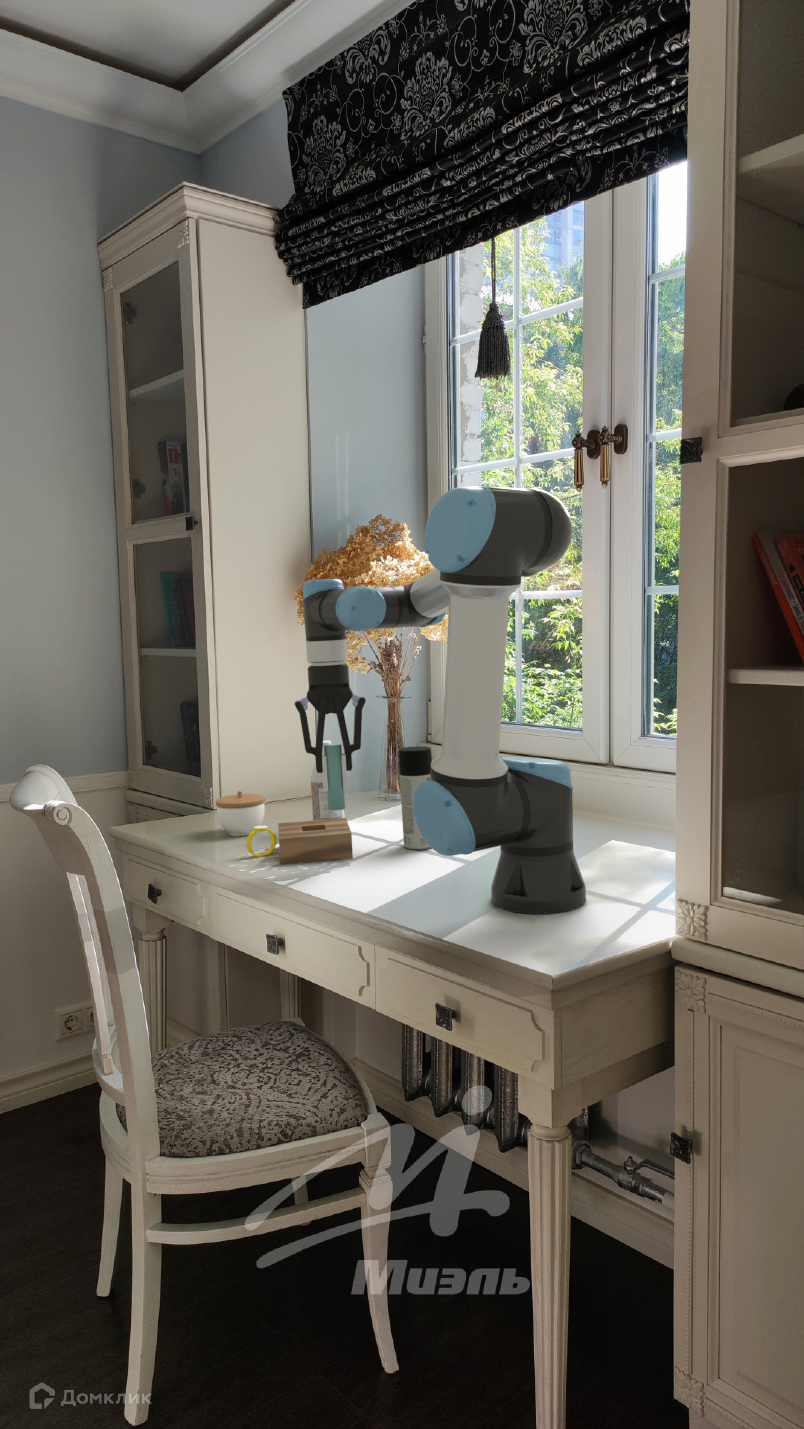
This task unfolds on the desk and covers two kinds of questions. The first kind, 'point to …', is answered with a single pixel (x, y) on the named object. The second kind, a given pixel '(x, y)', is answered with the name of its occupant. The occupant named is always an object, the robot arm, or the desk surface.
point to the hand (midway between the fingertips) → (335, 788)
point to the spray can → (413, 790)
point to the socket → (314, 840)
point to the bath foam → (322, 796)
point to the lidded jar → (240, 813)
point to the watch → (260, 829)
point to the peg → (334, 777)
